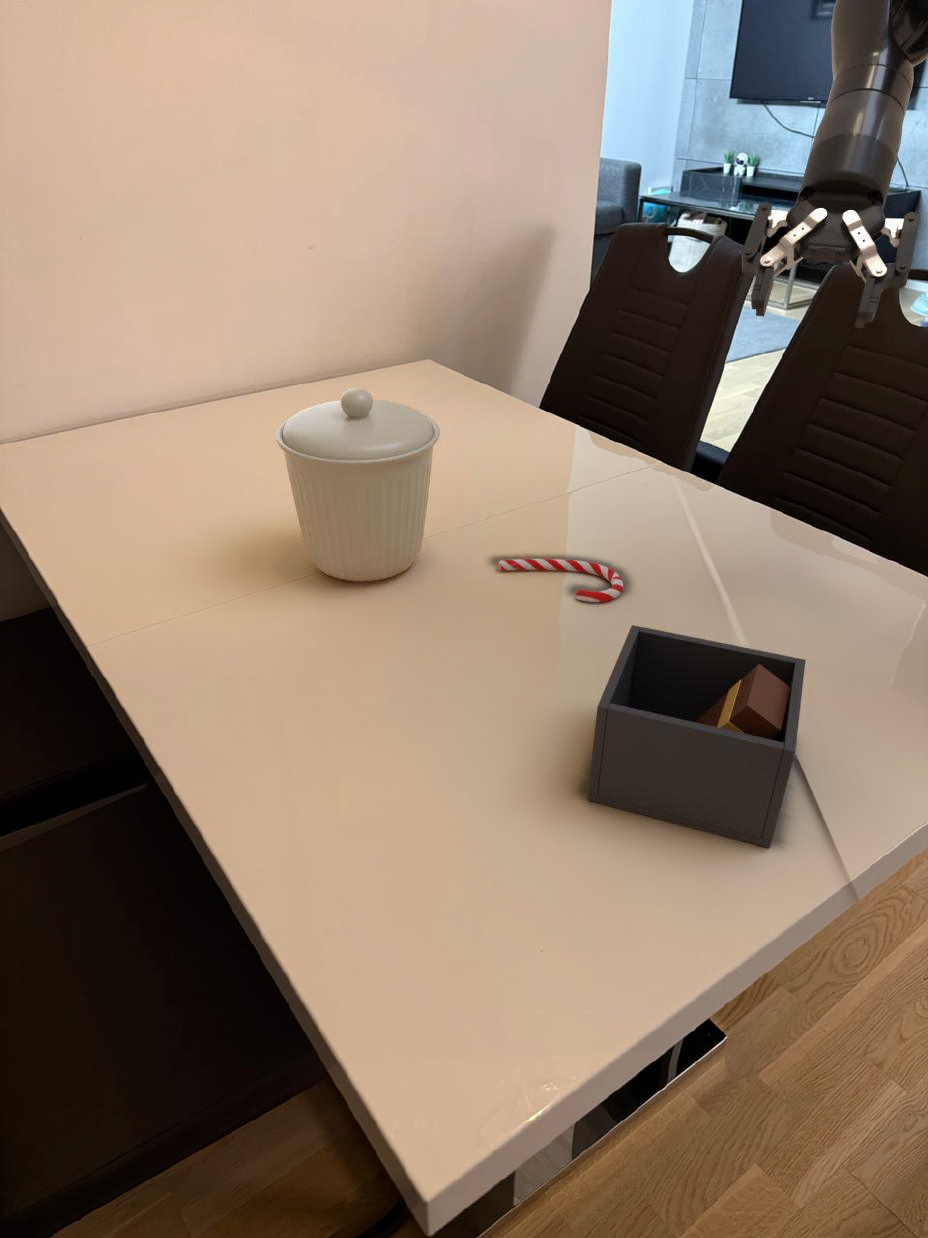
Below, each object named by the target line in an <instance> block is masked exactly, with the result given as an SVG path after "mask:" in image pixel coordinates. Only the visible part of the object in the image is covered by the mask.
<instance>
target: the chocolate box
mask: <svg viewBox="0 0 928 1238" xmlns="http://www.w3.org/2000/svg"><path fill="white" fill-rule="evenodd" d="M789 693H790V687H789V686H788V685H786V684H785V683H784V682H782V681H781V680H780V679H778V678H777V677H776V676H774V675H773V674H772V673H771V672H769V671H768V670H767V669H765V668H764V667H763V666H761V665H760V664H758V665H757V666H756V667H755V668H754V669H753V670H752V671H751V672H750V673H748V674H747V675H746V676H745V677H744V678H743V679H742V680H740V681H738V682H737V683H736V684H735V685H734V686H733V687H732V688H731V689H730V690H729V692H727V693H726V694H725V695H724V696H723V697H722V698H721V699H720V700H719V701H718V702H716V703H715V704H714V705H713V706H712V707H711V708H710V709H709V710H708V711H706V712H705V713H704V714H703V715H702V716H701V717H700V718H699V719H698V720H697V721H695V723H700V724H704V725H709V726H713V727H717V728H722V729H726V730H730V731H735V732H739V733H744V734H748V735H752V736H757V737H761V738H766V739H771V738H772V737H774V736H775V735H776V734H777V733H778V732H780V731H781V728H782V724H783V719H784V715H785V710H786V706H787V701H788V697H789Z"/></svg>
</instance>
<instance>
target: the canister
mask: <svg viewBox="0 0 928 1238" xmlns="http://www.w3.org/2000/svg"><path fill="white" fill-rule="evenodd" d="M440 435H441V428H440V427H439V425H438V423H437V422H436V421H435V420H434V419H433V418H431V417H429V416H428V415H426V414H424V413H422V412H421V411H419V410H417V409H416V408H414V407H411V406H408V405H406V404H403V403H399V402H395V401H389V400H382V399H374V398H373V396H372V394H371V393H370V392H369V391H368V390H366V389H364V388H360V387H354V388H349V389H347V390H345V391H344V392H343V393H342V394H341V397H340V400H333V401H327V402H323V403H319V404H315V405H312V406H309V407H307V408H303V409H302V410H300V411H299V412H296V413H295V414H293V416H292V417H290V418H288V419H286V420H285V421H284V422H282V423H281V424H280V425H279V426H278V428H277V429H276V431H275V442H276V443H277V445H278V447H279V448H280V449H281V450H282V451H283V454H284V459H285V460H284V461H285V464H286V469H287V473H288V479H289V483H290V488H291V492H292V499H293V502H294V506H295V511H296V516H297V519H298V524H299V528H300V531H301V536H302V539H303V544H304V547H305V550H306V553H307V555H308V557H309V559H310V560H311V562H312V563H313V565H314V566H315V567H316V568H317V569H318V570H319V571H320V572H321V573H324V574H326V575H327V576H331V577H332V578H335V579H339V580H343V581H344V580H345V581H347V582H350V581H351V582H373V581H380V580H386V579H388V578H393V577H394V576H396V575H400V574H401V573H402V572H405V571H406V570H407V569H408V568H410V567H412V565H413V564H414V562H415V561H416V560H417V558H418V556H419V554H420V552H421V549H422V545H423V539H424V535H425V527H426V519H427V509H428V501H429V492H430V485H431V484H430V483H431V474H432V464H433V454H434V446H435V445H436V444H437V443H438V441H439V438H440Z"/></svg>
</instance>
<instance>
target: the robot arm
mask: <svg viewBox="0 0 928 1238" xmlns="http://www.w3.org/2000/svg"><path fill="white" fill-rule="evenodd" d="M830 29H831V31H830V34H831V70H832V71H831V72H832V84H831V87H830V91H829V94H828V98H827V101H826V105H825V109H824V112H823V115H822V118H821V121H820V122H819V125H818V126H817V128H816V129H817V130H816V131H815V134H814V138H813V142H812V144H811V149H810V152H809V155H808V158H807V159H808V160H807V163H806V167H805V169H804V173H803V177H802V181H801V184H800V188H799V191H798V194H797V198H796V201H795V204H794V205H793V206H792V207H791V208H790V209H789V210H788V211H787V210H780V209H772V208H773V207H772V206H773V205H772V203H770V201H762V202H761V203H759V204H758V206H757V208H756V212H755V214H754V217H753V219H752V223H751V226H750V227H749V228H750V229H749V231H748V233H747V236H746V239H745V243H744V245H743V247H742V250H741V271H742V273H743V274H745V275H750V274H753V275H754V276H755V279H754V284H753V286H752V290H751V294H750V305H751V310H755V316H756V317H763V318H764V317H765V315H766V311H767V308H768V304H769V301H770V297H771V293H772V290H773V287H774V279H775V278H776V277H777V276H779V275H780V274H781V273H782V272H784V271H785V270H787V271H789V270H791V269H792V268H793V267H794V266H795V265H797V264H798V263H800V262H801V261H802V260H803V259H805V260H806V263H810V264H820V263H827V264H830V265H833V266H843V265H844V264H845V263H849V264H850V266H851V267H852V269H853V270H854V272H855V274H856V275H857V276H858V277H861V279H862V281H863V282H864V287H863V292H862V295H861V299H860V303H859V306H858V307H859V308H858V311H857V315H856V319H855V324H854V328H859V329H860V328H861V329H864V327H865V323H872V322H873V320H874V319H875V317H876V314H877V311H878V306H879V303H880V298H881V294H882V292H883V291H884V290H885V289H888V288H894V289H895V290H900V289H904V287H906V285H907V283H908V279H909V278H908V277H909V273H910V271H911V267H912V263H913V261H912V260H913V255H914V250H915V245H916V240H917V233H918V227H919V223H920V215H919V213H917V212H915V211H910V212H907V213H906V214H905V215H904V217H903V218H887V217H886V215H885V213H884V209H885V205H886V201H887V197H888V193H889V190H890V185H891V182H892V179H893V174H894V170H895V168H896V166H897V163H898V159H899V158H898V155H899V150H900V148H901V144H902V143H901V142H902V135H903V125H904V121H905V117H906V113H907V109H908V105H909V102H910V99H911V94H912V89H913V85H914V80H915V79H914V78H915V77H914V67H916V66H918V65H919V64H921V63H923V61H925V60H926V59H928V0H835V3H834V7H833V12H832V18H831V28H830ZM781 227H782V228H783V227H785V231H786V234H784V235H783V236H782V237H781V238H780V239H779V241H778V243H777V244H776V245H775V246H774V247H772V248H771V249H770V250H769V251H767V252H766V253H765V254H762V252H763V249H764V247H765V243H766V241H767V238H771V237H773V235H775V234H776V232H777V231H778V229H780V228H781ZM883 235H886V236H887V237H888V238H889V243H890V244H891V245H892V246H893V248H897V250H896V256H895V262H894V264H892V265H887V266H886V265H885V263H884V262H883V260H882V258H881V257H880V255H879V253H878V249H877V246H876V244H875V242H877V241H878V240H880V239H881V238H882V236H883Z"/></svg>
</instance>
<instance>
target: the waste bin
mask: <svg viewBox="0 0 928 1238" xmlns="http://www.w3.org/2000/svg"><path fill="white" fill-rule="evenodd" d="M758 664H760V665H761V666H763V667H764V668H765V669H767V670H768V671H769V672H771V673H772V674H773V675H774V676H776V677H777V678H778V679H780V680H781V681H782V682H784V683H785V684H786V685H788V686H789V687H790V693H789V697H788V701H787V706H786V710H785V715H784V719H783V724H782V728H781V731H780V732H778V733H777V734H776V735H775V736H774V737H772V738H771V739H766V738H761V737H757V736H752V735H748V734H744V733H739V732H735V731H730V730H726V729H722V728H717V727H713V726H709V725H704V724H700V723H695V721H697V720H698V719H699V718H700V717H701V716H702V715H703V714H704V713H705V712H706V711H708V710H709V709H710V708H711V707H712V706H713V705H714V704H715V703H716V702H718V701H719V700H720V699H721V698H722V697H723V696H724V695H725V694H726V693H727V692H729V690H730V689H731V688H732V687H733V686H734V685H735V684H736V683H737V682H738V681H740V680H742V679H743V678H744V677H745V676H746V675H747V674H748V673H750V672H751V671H752V670H753V669H754V668H755V667H756V666H757V665H758ZM805 669H806V659H804V658H799V657H794V656H789V655H785V654H779V653H775V652H769V651H765V650H758V649H754V648H749V647H744V646H739V645H734V644H729V643H724V642H719V641H715V640H709V639H704V638H699V637H694V636H690V635H685V634H680V633H674V632H669V631H665V630H660V629H655V628H650V627H645V626H640V625H636V624H635V625H634V624H631V626H630V627H629V631H628V633H627V636H626V638H625V640H624V643H623V645H622V647H621V650H620V652H619V655H618V657H617V659H616V661H615V664H614V666H613V668H612V670H611V674H610V676H609V678H608V680H607V683H606V685H605V687H604V689H603V692H602V695H601V697H600V699H599V702H598V704H597V709H596V717H595V726H594V735H593V743H592V753H591V760H590V761H591V762H590V770H589V771H590V772H589V779H588V780H589V781H588V790H587V791H588V792H587V799H586V800H587V801H588V802H592V803H596V804H600V805H603V806H608V807H611V808H614V809H618V810H623V811H625V812H630V813H634V814H637V815H642V816H645V817H649V818H653V819H657V820H660V821H661V820H662V821H664V822H668V823H672V824H675V825H680V826H682V827H686V828H687V827H688V828H691V829H695V830H699V831H702V832H705V833H711V834H714V835H717V836H721V837H725V838H729V839H733V840H737V841H740V842H744V843H747V844H752V845H756V846H759V847H763V848H767V849H770V848H771V847H772V842H773V839H774V835H775V831H776V828H777V824H778V819H779V816H780V812H781V809H782V804H783V801H784V797H785V792H786V789H787V786H788V781H789V777H790V774H791V770H792V766H793V762H794V758H795V755H796V748H797V742H798V732H799V725H800V724H799V723H800V713H801V705H802V698H803V688H804V679H805V671H806V670H805Z"/></svg>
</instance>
